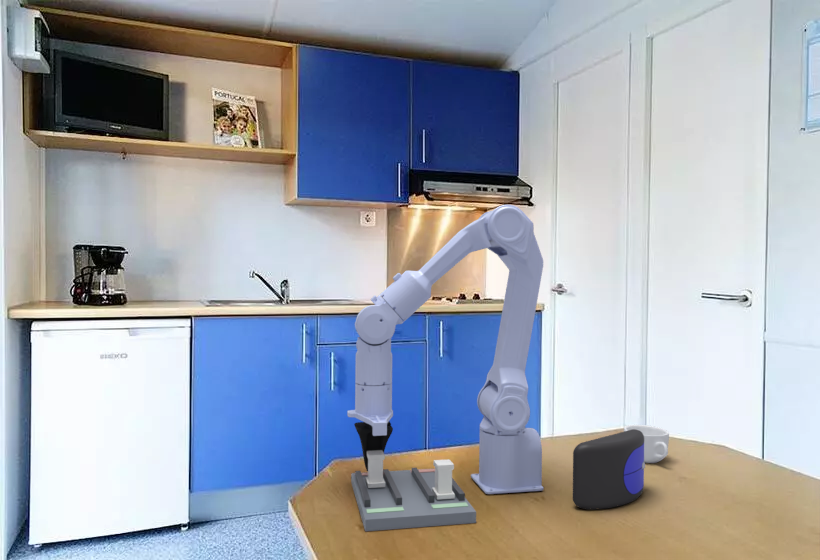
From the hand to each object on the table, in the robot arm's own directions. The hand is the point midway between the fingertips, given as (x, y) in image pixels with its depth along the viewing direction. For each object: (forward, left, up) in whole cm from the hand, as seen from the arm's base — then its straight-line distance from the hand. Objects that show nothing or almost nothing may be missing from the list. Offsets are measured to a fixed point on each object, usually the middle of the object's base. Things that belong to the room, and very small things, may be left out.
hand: (372, 469), depth 90 cm
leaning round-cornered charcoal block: (-35, +10, -3) cm, 36 cm away
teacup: (-51, -5, -3) cm, 52 cm away
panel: (-4, +6, -3) cm, 8 cm away
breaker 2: (-9, +9, -1) cm, 13 cm away
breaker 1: (0, +3, -1) cm, 3 cm away
